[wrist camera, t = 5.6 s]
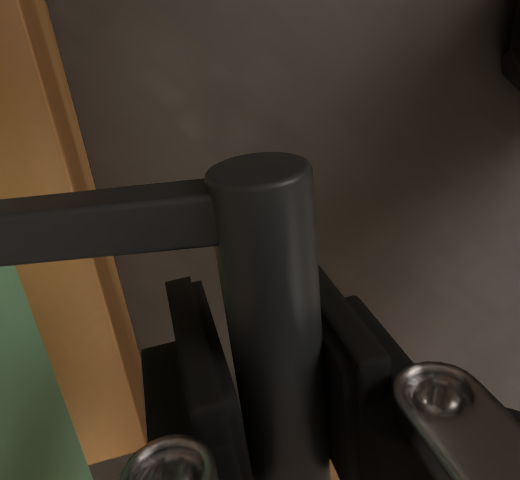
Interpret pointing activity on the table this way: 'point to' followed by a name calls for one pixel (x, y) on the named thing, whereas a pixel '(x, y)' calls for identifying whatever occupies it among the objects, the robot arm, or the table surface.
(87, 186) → the stand
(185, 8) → the table surface
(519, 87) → the portable speaker
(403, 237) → the table surface
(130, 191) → the open green box
